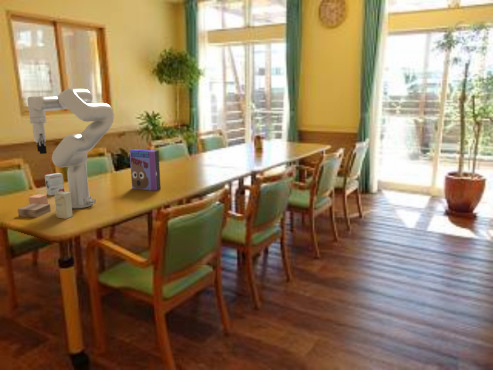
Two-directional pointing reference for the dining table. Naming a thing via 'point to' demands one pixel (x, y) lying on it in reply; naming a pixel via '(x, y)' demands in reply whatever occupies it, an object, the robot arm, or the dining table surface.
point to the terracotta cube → (38, 199)
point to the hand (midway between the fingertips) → (42, 152)
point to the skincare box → (63, 204)
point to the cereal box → (145, 169)
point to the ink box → (54, 183)
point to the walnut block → (34, 210)
